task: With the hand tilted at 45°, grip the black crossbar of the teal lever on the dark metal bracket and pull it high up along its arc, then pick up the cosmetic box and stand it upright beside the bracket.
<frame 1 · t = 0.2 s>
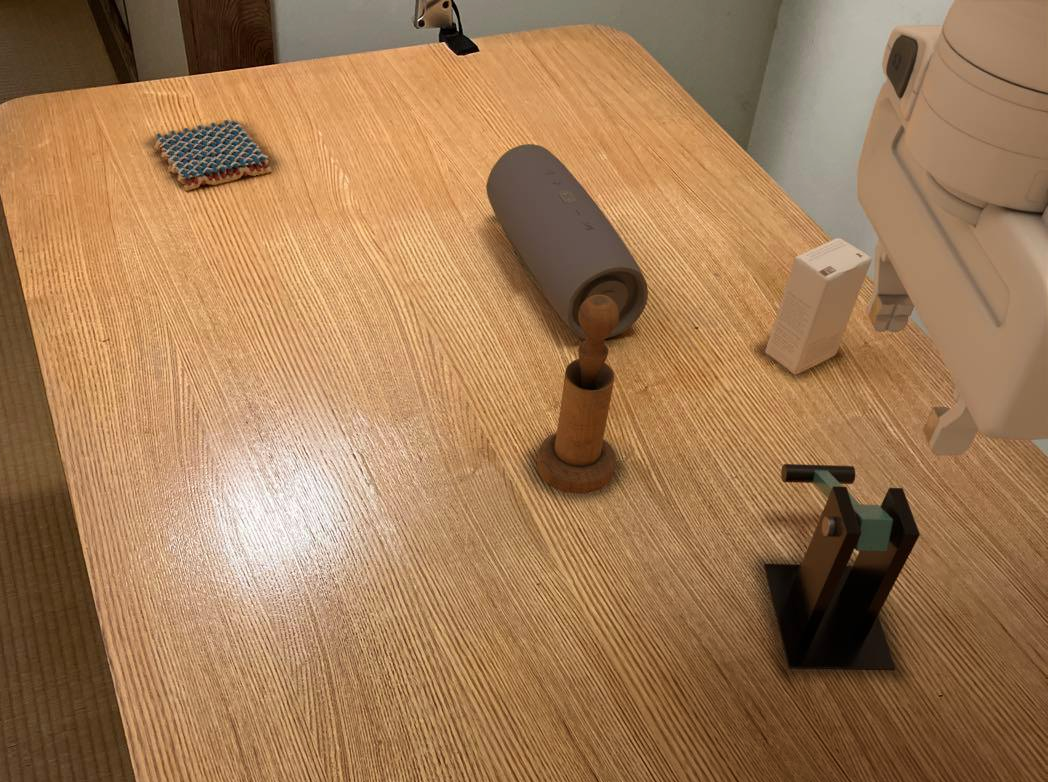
hand: (911, 381, 55), 31 cm above the table, tool pointing down, fingers open, 8 cm apart
woven mat: (213, 164, 122), on the table
bracket: (823, 623, 83), on the table
lever: (842, 500, 79), point 9 cm above the table, hinge at -25.0°
cosmetic box: (797, 364, 105), on the table
bluetooth speaker: (557, 285, 111), on the table
mortar and pestle: (573, 476, 92), on the table
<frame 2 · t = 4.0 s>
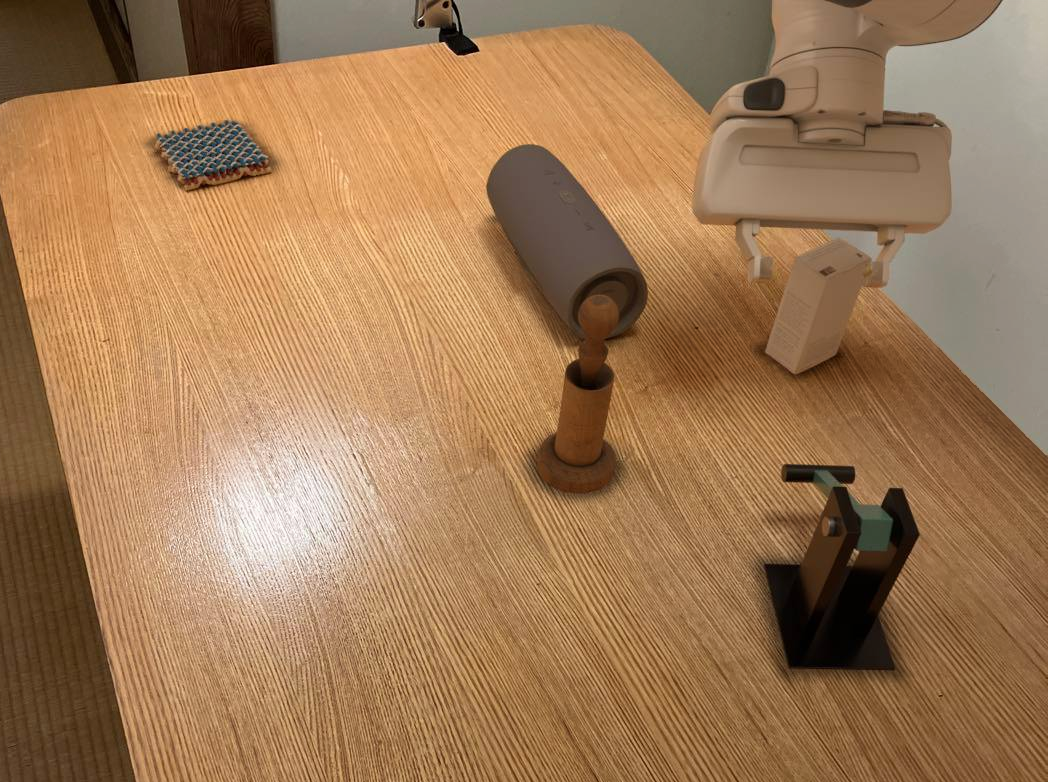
hand: (817, 284, 86), 16 cm above the table, tool tilted 45°, fingers open, 8 cm apart
nothing on the table moved.
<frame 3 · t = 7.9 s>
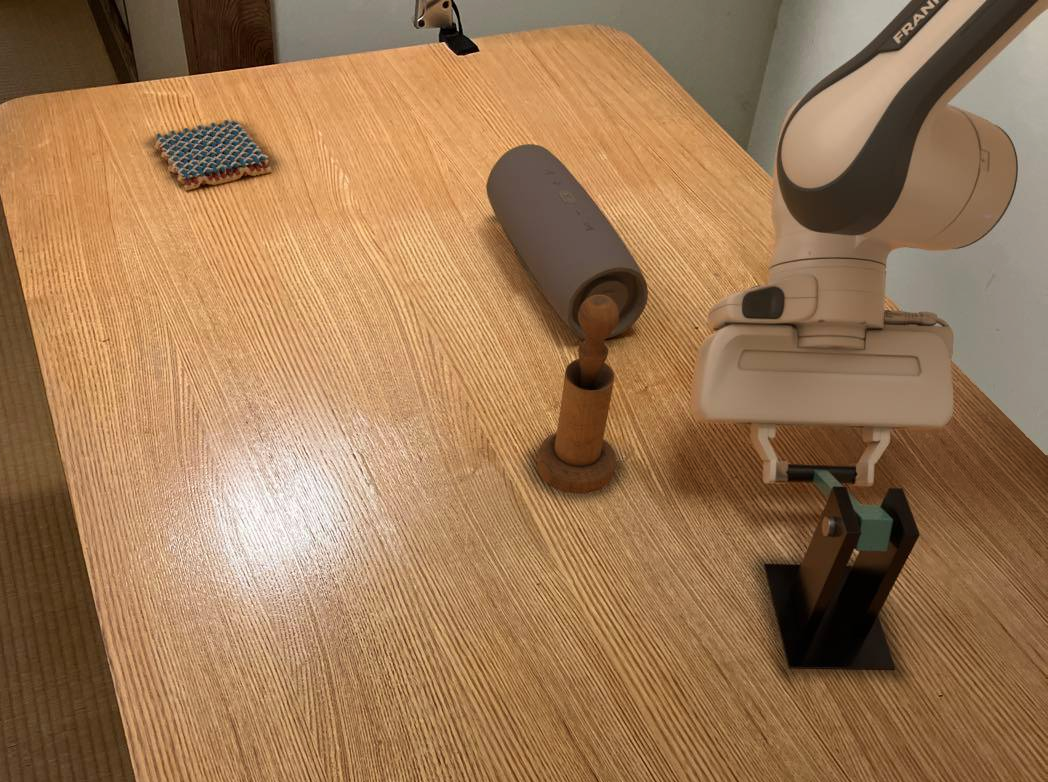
hand: (817, 484, 85), 6 cm above the table, tool tilted 45°, fingers closed on lever, 5 cm apart
lever: (842, 500, 79), point 9 cm above the table, hinge at -24.9°, touching gripper
everything else where it was.
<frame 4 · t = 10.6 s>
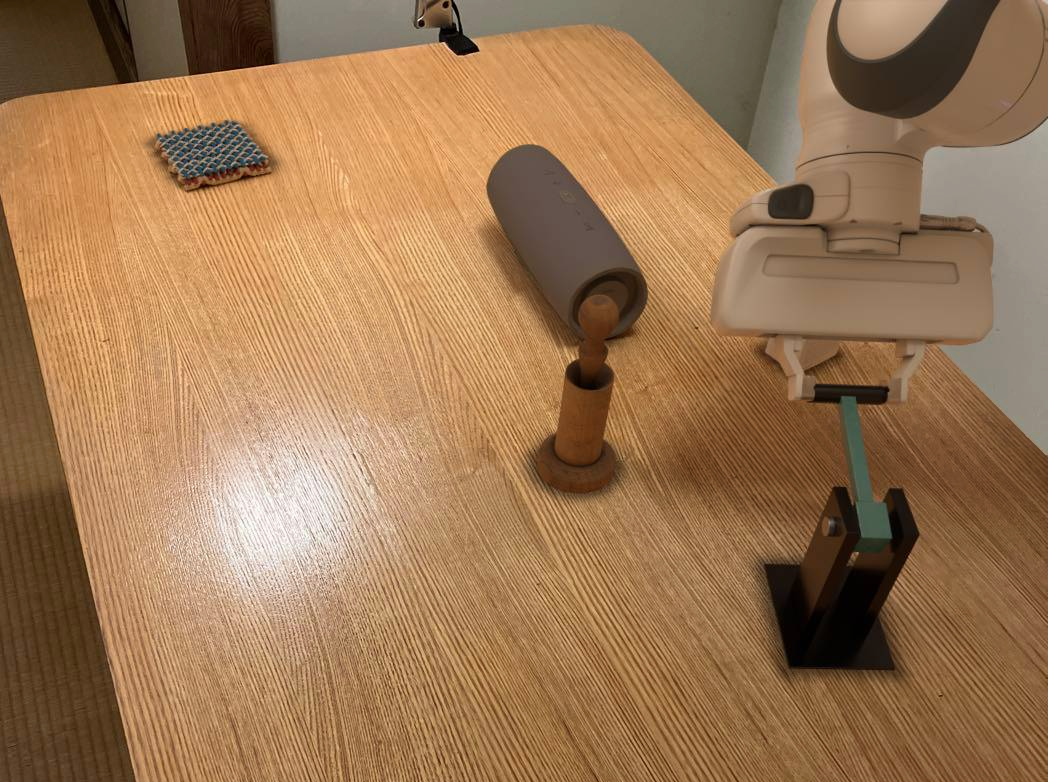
hand: (846, 402, 79), 14 cm above the table, tool tilted 45°, fingers closed on lever, 5 cm apart
lever: (856, 462, 77), point 12 cm above the table, hinge at 16.1°, touching gripper
everything else where it was.
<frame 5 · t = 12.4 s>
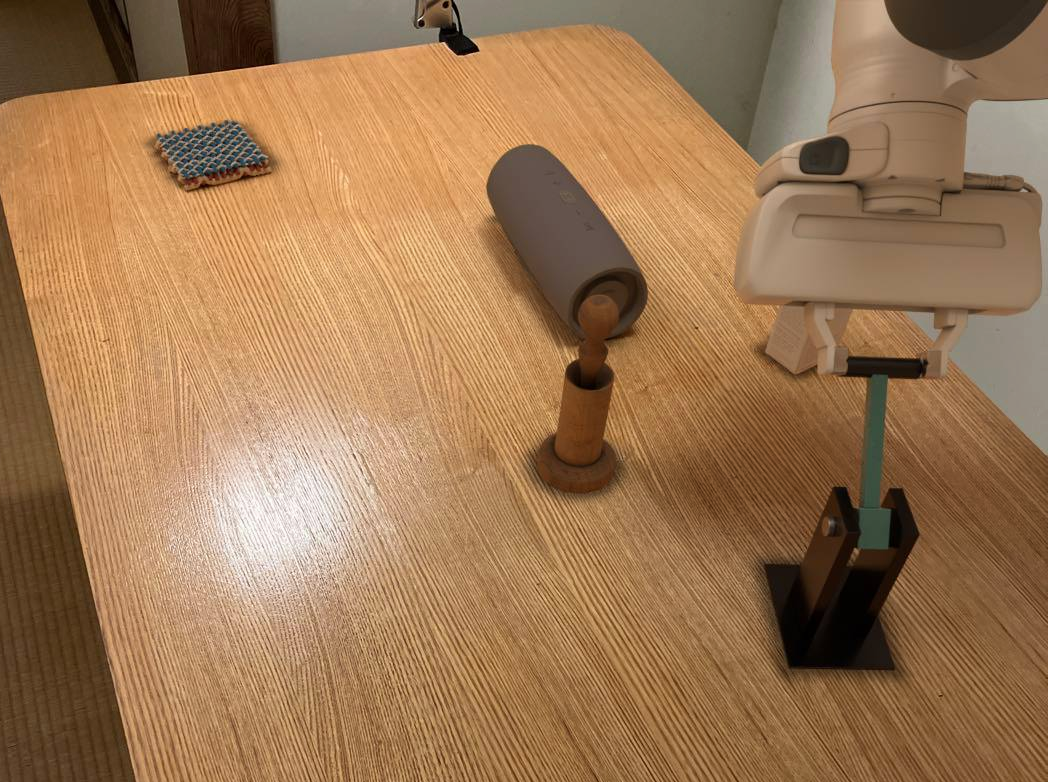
hand: (880, 377, 73), 19 cm above the table, tool tilted 45°, fingers closed on lever, 5 cm apart
lever: (872, 453, 74), point 15 cm above the table, hinge at 47.8°, touching gripper
everything else where it was.
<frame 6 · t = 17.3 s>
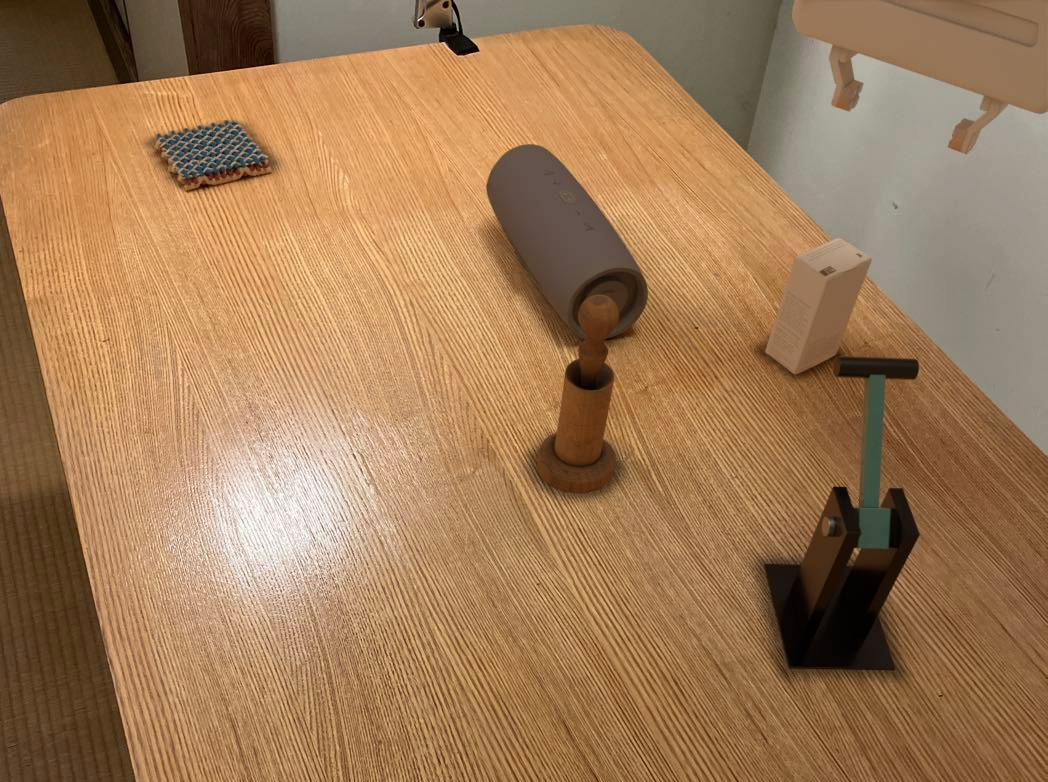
hand: (900, 127, 81), 27 cm above the table, tool pointing down, fingers open, 8 cm apart
lever: (871, 453, 74), point 15 cm above the table, hinge at 45.6°
everything else where it was.
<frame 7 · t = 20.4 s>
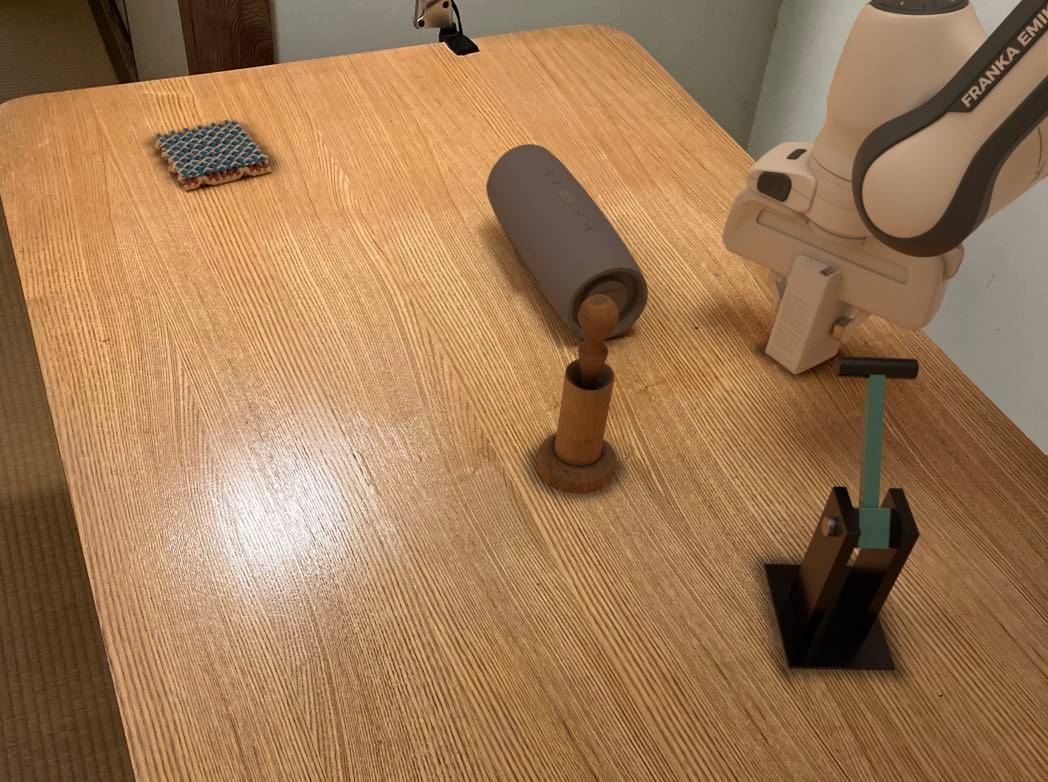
hand: (810, 324, 101), 5 cm above the table, tool pointing down, fingers closed on cosmetic box, 5 cm apart
cosmetic box: (797, 364, 105), on the table, touching gripper
everything else where it was.
when the fingers open (4 cm above the table, at t = 26.7 s): cosmetic box stays where it is, on the table.
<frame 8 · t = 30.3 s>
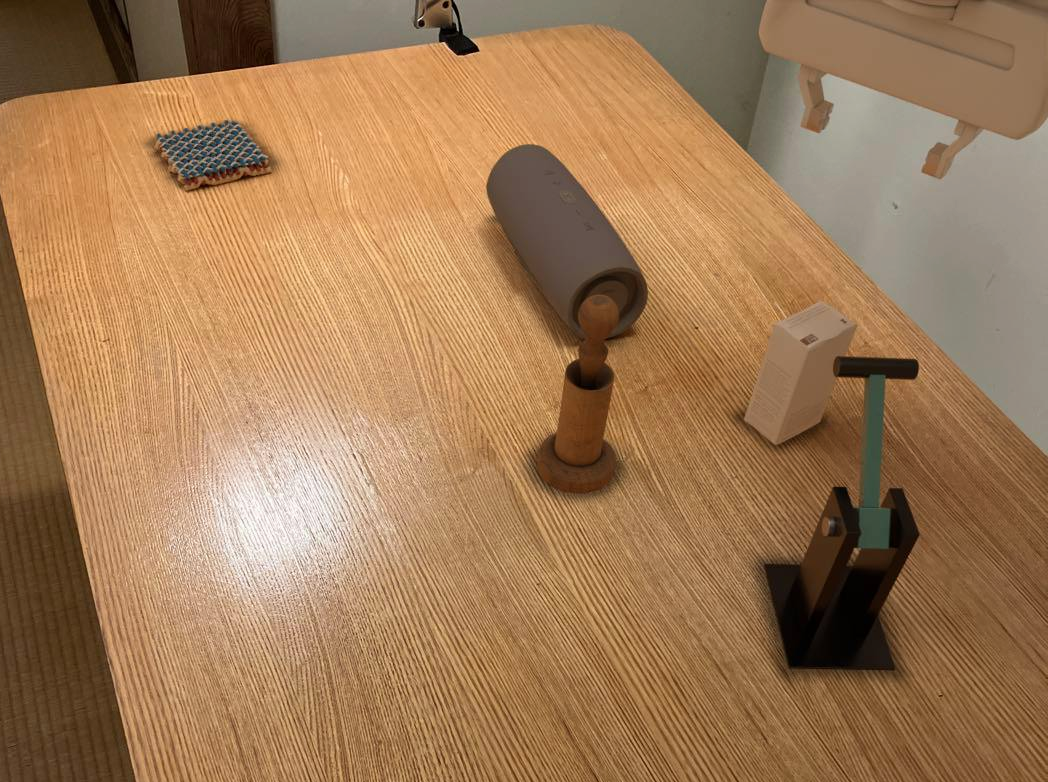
hand: (872, 150, 78), 27 cm above the table, tool pointing down, fingers open, 8 cm apart
cosmetic box: (778, 431, 98), on the table
everything else where it was.
at the end: lever at +46° (first picture: -25°); cosmetic box inside the target area (0.1 cm from its centre), on the table; cosmetic box tilted 0° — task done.
